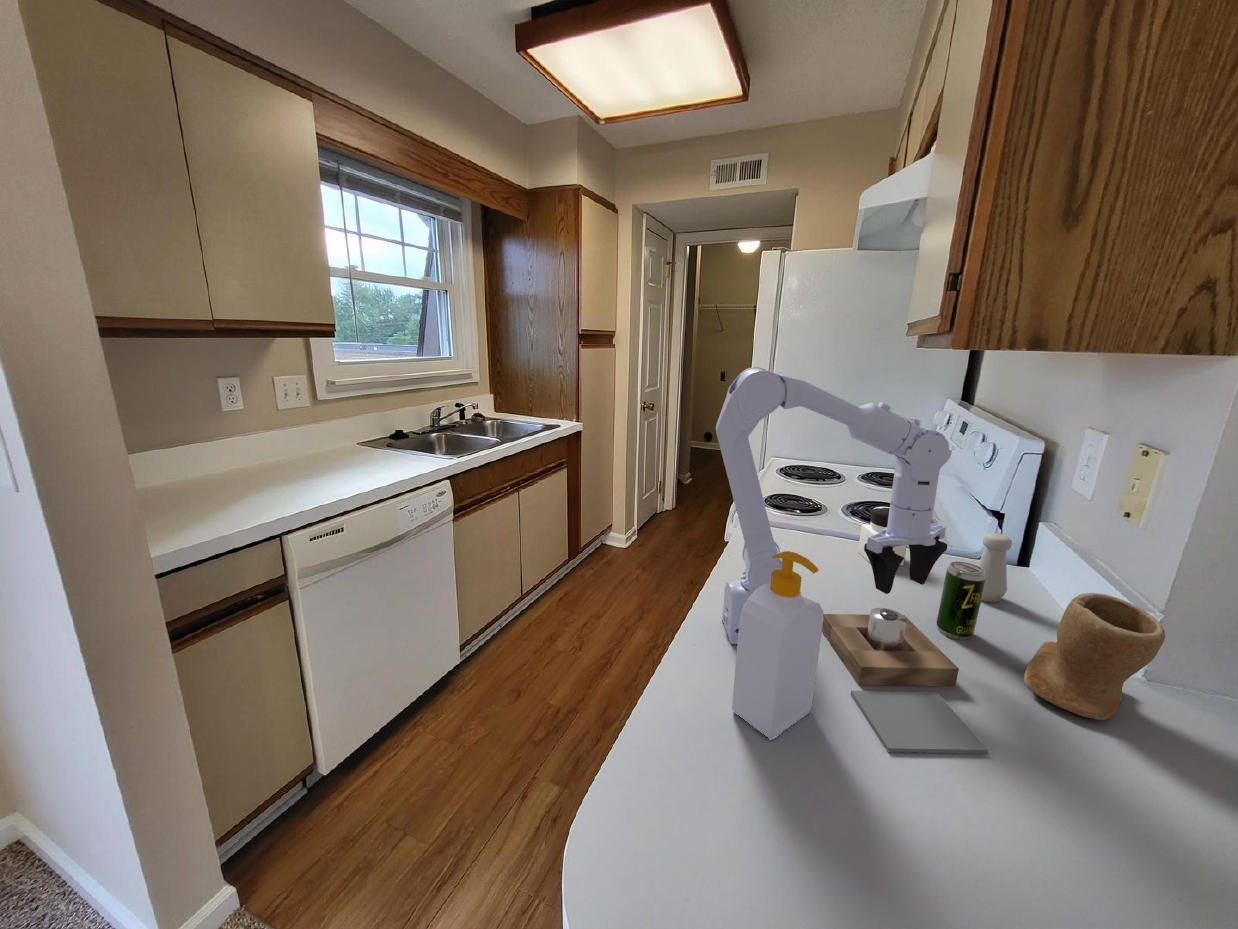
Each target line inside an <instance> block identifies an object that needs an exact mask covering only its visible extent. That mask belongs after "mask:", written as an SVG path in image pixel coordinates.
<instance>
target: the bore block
mask: <svg viewBox="0 0 1238 929" xmlns="http://www.w3.org/2000/svg"><path fill="white" fill-rule="evenodd" d="M902 615H903V616H905V618H906V619H907V624H906V629H905V635H904V640H903V646H902V651H875V650H874V649H873V648H872V647H871V645H870V644H869V643H868V642H867V640H866V637H867V631H868V625H869V618H870V614H857V613H856V614H852V613H850V614H848V613H846V614H843V613H823V626H822V632H823V633H822V634H823V636H824V637H825V638H827V639H826V640H827V642H828V643H829V644H830V645H831V647H832V649H833V650H834V652H835V653H836V654H837V656H838V657H839V659H840V661H841V662H842V663H843V665H844V667H845V668H846V669H847V671H848V672H849V674H850V675H851V677H852V678H853V680H854V681H855V682H856V684H857V685H858V686H896V687H897V686H906V687H907V686H908V687H909V686H910V687H956V685H957V680H958V675H959V672H960V671H959V670H960V668H959V667H958V666H957V665H956V664H955V663H954V662H953V661H952V660H951V659H950V658H949V657H948V656H947V655H946V654H945V653H943V652H942V650H940V649H939V647H938V646H937V645H936V644H934V642H933V641H932V640H930V639H929V637H927V636H926V635H925V633H923V631H922V630H920V629H919V627H917V626H916V625H915V624H914V623H913V622H912V621H911V620H910V619H909V618H908V617H907V616H906V615H904V614H902Z"/></svg>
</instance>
